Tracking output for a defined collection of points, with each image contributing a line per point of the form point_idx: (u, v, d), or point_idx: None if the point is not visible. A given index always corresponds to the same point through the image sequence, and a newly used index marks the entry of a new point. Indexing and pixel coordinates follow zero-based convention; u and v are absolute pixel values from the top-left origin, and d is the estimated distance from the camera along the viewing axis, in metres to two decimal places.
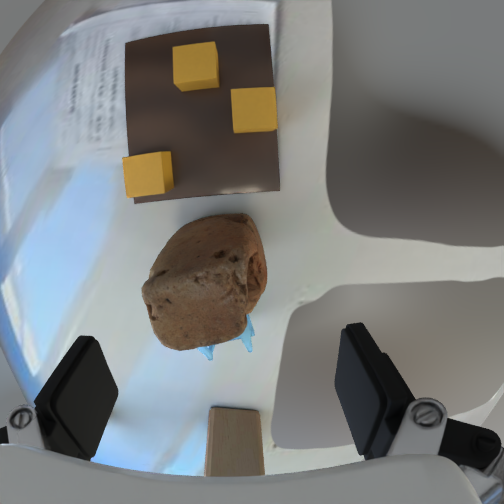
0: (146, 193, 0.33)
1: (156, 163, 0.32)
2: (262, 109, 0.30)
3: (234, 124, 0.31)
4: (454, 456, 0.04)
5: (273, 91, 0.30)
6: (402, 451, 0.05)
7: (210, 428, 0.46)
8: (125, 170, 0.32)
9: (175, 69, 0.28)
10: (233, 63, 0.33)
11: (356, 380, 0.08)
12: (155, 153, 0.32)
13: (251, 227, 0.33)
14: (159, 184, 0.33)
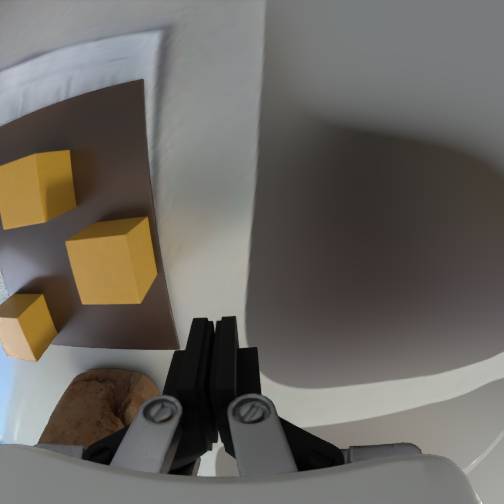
0: (21, 357, 0.21)
1: (18, 330, 0.20)
2: (112, 275, 0.18)
3: (81, 296, 0.19)
4: None
5: (124, 243, 0.18)
6: (250, 454, 0.05)
7: None
8: None
9: (1, 207, 0.16)
10: (90, 165, 0.20)
11: None
12: (13, 319, 0.19)
13: (131, 418, 0.21)
14: (28, 352, 0.21)
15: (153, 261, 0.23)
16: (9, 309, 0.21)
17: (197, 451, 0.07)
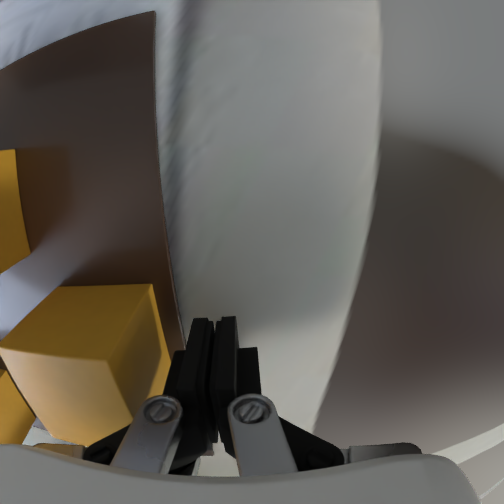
0: None
1: None
2: (94, 418, 0.08)
3: (47, 428, 0.08)
4: None
5: (107, 375, 0.07)
6: (250, 454, 0.05)
7: None
8: None
9: None
10: (48, 177, 0.10)
11: None
12: None
13: None
14: None
15: (167, 360, 0.12)
16: None
17: (197, 451, 0.07)
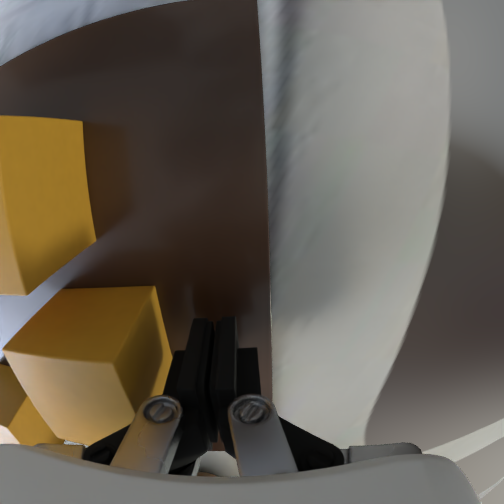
0: None
1: (12, 439, 0.09)
2: (99, 419, 0.08)
3: (52, 429, 0.08)
4: None
5: (113, 377, 0.07)
6: (250, 454, 0.05)
7: None
8: None
9: None
10: (129, 153, 0.10)
11: None
12: (1, 426, 0.09)
13: None
14: None
15: (170, 360, 0.12)
16: None
17: (196, 451, 0.07)
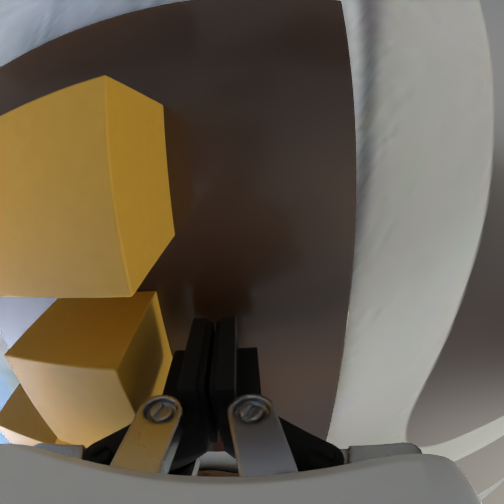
0: None
1: None
2: (102, 423, 0.08)
3: (55, 432, 0.08)
4: None
5: (115, 383, 0.07)
6: (249, 454, 0.05)
7: None
8: (10, 441, 0.09)
9: None
10: (220, 143, 0.10)
11: None
12: None
13: None
14: None
15: None
16: (29, 415, 0.10)
17: (196, 451, 0.07)
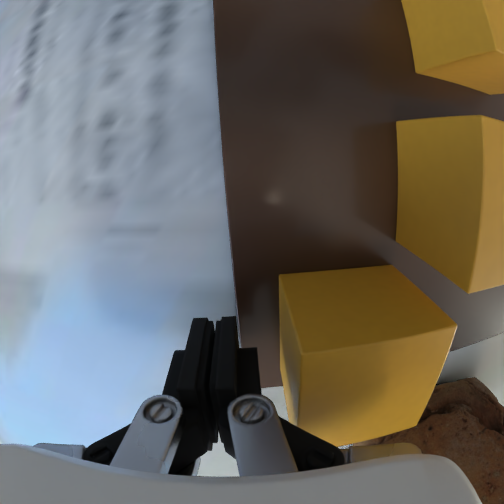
0: (365, 437, 0.09)
1: (431, 363, 0.07)
2: None
3: (476, 272, 0.06)
4: None
5: None
6: (250, 454, 0.05)
7: None
8: (308, 395, 0.07)
9: (488, 3, 0.04)
10: None
11: None
12: (441, 333, 0.07)
13: None
14: (413, 413, 0.08)
15: None
16: (370, 312, 0.08)
17: (196, 451, 0.07)
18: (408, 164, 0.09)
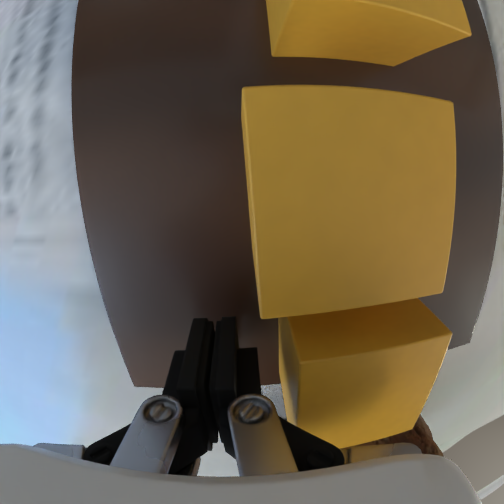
0: (362, 441, 0.09)
1: (426, 370, 0.08)
2: (404, 213, 0.06)
3: (266, 293, 0.06)
4: None
5: (449, 122, 0.05)
6: (249, 454, 0.05)
7: None
8: (307, 401, 0.08)
9: None
10: None
11: None
12: (436, 341, 0.07)
13: None
14: (409, 417, 0.08)
15: None
16: (367, 321, 0.09)
17: (197, 451, 0.07)
18: (245, 162, 0.09)
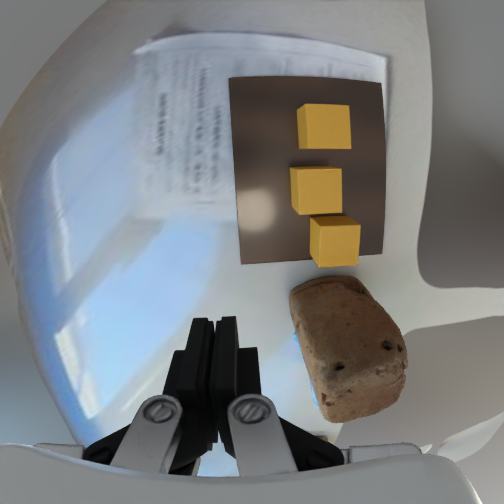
0: (340, 264, 0.34)
1: (355, 236, 0.33)
2: (328, 193, 0.31)
3: (300, 208, 0.32)
4: None
5: (340, 173, 0.31)
6: (249, 454, 0.05)
7: None
8: (322, 240, 0.33)
9: (309, 131, 0.29)
10: (350, 124, 0.33)
11: None
12: (355, 226, 0.33)
13: (371, 297, 0.34)
14: (354, 256, 0.34)
15: None
16: (336, 222, 0.34)
17: (196, 451, 0.07)
18: (291, 181, 0.35)
